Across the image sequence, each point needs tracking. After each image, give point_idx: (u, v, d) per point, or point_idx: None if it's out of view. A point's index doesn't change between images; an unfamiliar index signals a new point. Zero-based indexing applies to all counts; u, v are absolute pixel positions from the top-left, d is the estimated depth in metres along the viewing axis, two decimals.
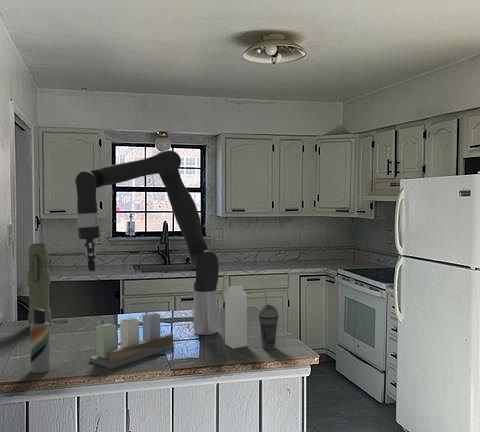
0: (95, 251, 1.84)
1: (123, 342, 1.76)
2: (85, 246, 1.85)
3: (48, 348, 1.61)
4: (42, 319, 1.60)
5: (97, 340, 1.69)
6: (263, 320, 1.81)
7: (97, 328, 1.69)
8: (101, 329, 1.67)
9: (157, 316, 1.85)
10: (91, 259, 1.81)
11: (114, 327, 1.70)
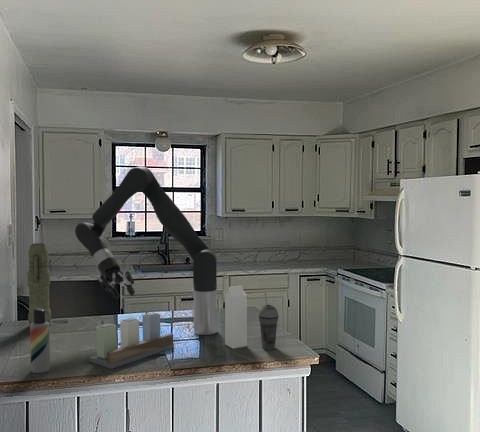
0: (112, 280, 1.93)
1: (123, 342, 1.76)
2: (108, 280, 1.97)
3: (48, 348, 1.61)
4: (42, 319, 1.60)
5: (97, 340, 1.69)
6: (263, 320, 1.81)
7: (97, 328, 1.69)
8: (101, 329, 1.67)
9: (157, 316, 1.85)
10: (108, 289, 1.91)
11: (114, 327, 1.70)
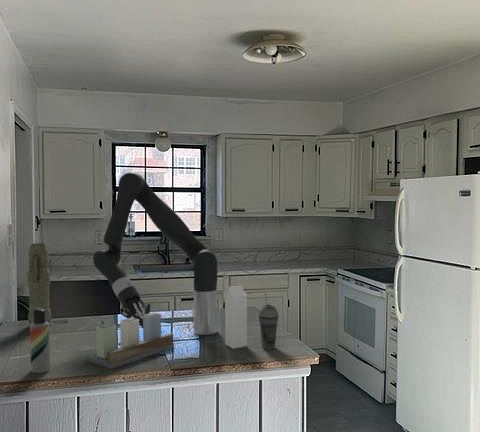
0: (137, 311, 1.88)
1: (123, 342, 1.76)
2: None
3: (48, 348, 1.61)
4: (42, 319, 1.60)
5: (97, 340, 1.69)
6: (263, 320, 1.81)
7: (97, 328, 1.69)
8: (101, 329, 1.67)
9: (158, 316, 1.85)
10: None
11: (114, 327, 1.70)
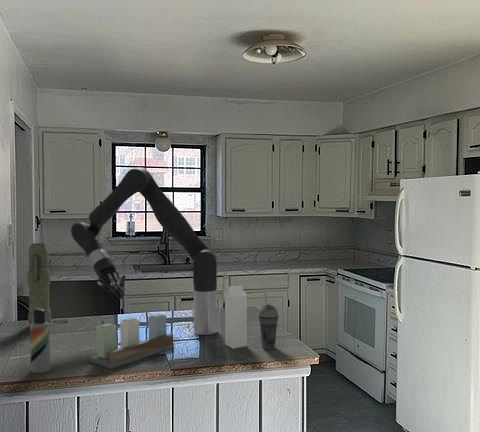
0: (111, 281, 1.93)
1: (123, 342, 1.76)
2: None
3: (48, 348, 1.61)
4: (42, 319, 1.60)
5: (97, 340, 1.69)
6: (263, 320, 1.81)
7: (97, 328, 1.69)
8: (101, 329, 1.67)
9: (163, 317, 1.83)
10: (111, 289, 1.92)
11: (114, 327, 1.70)
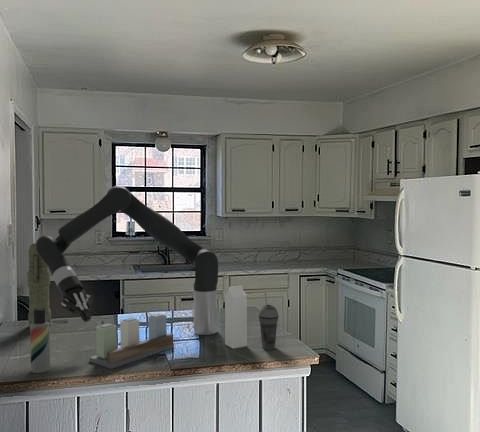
0: (77, 302, 1.77)
1: (123, 342, 1.76)
2: None
3: (48, 348, 1.61)
4: (42, 319, 1.60)
5: (97, 340, 1.69)
6: (263, 320, 1.81)
7: (97, 328, 1.69)
8: (101, 329, 1.67)
9: (163, 317, 1.83)
10: (77, 311, 1.76)
11: (114, 327, 1.70)
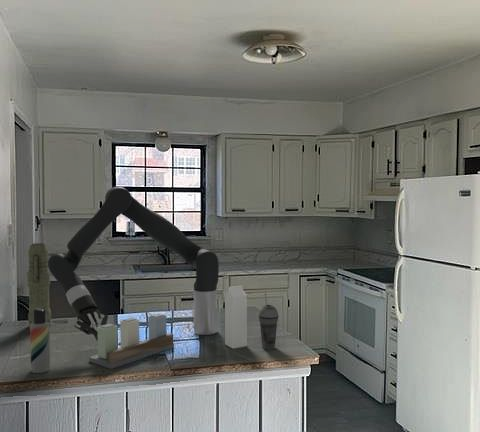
0: (92, 323, 1.72)
1: (123, 342, 1.76)
2: None
3: (48, 348, 1.61)
4: (42, 319, 1.60)
5: (99, 340, 1.68)
6: (263, 320, 1.81)
7: (98, 328, 1.68)
8: (102, 329, 1.67)
9: (163, 317, 1.83)
10: (91, 332, 1.71)
11: (115, 327, 1.70)
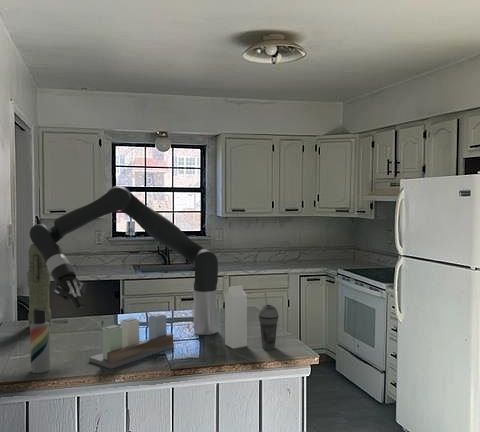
0: (70, 289, 1.79)
1: (123, 342, 1.76)
2: None
3: (48, 348, 1.61)
4: (42, 319, 1.60)
5: (103, 342, 1.67)
6: (263, 320, 1.81)
7: (103, 330, 1.67)
8: (107, 331, 1.65)
9: (163, 317, 1.83)
10: (70, 298, 1.78)
11: (120, 329, 1.68)
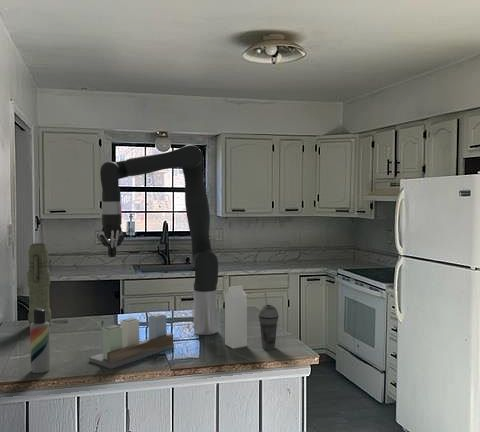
0: (111, 240, 1.97)
1: (123, 342, 1.76)
2: None
3: (48, 348, 1.61)
4: (42, 319, 1.60)
5: (103, 342, 1.67)
6: (263, 320, 1.81)
7: (103, 330, 1.67)
8: (107, 331, 1.65)
9: (163, 317, 1.83)
10: (107, 246, 1.98)
11: (120, 329, 1.68)
